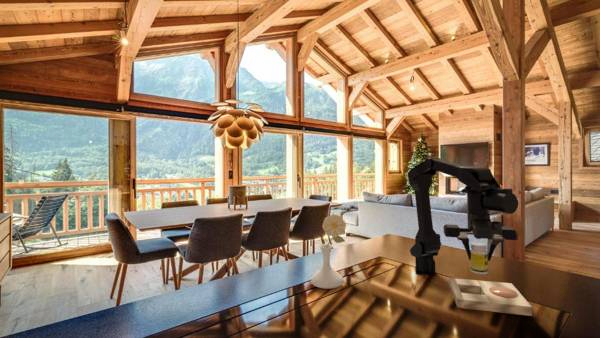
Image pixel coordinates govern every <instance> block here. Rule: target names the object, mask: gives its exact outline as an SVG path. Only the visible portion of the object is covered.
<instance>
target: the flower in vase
mask: <svg viewBox="0 0 600 338" xmlns="http://www.w3.org/2000/svg"><path fill="white" fill-rule="evenodd" d="M346 227H347V222H346V221H345V220H344V218H343V217H342V216H341V215H338V214H335V213H333V214H331V215H330V214H329V215H328V216H327V217H325V218H324V220H323V222H322V229H323V231H324V233H325V234H326V235H327V236H330V237H331V238H330V239H329V241H328V240H327V239H325V238H323V237H320V236H319V239H321V240H323V241H325V242H327V243H322V244H319V245H318V248H319V249H320V250H321V253H322V259H323V261H322V262H323V264H322V267H321V268H320V269H318V270H317V272H314V274H313V275H312V276H311V278H310V282H311V284H312V285H313V286H314V287H317V288H319V289H326V290H329V289H336V288H339V287H340V286H342V285H343V284H344V282H345V281H344V278H343V276H342V275H341V274H340V273H339V272H337V271H336V270H335V269H333V268H332V266H331V262H330V261H331V259H330V258H331V251H332V249H333V248H334V245H333V244H331V242H332V240H333V241H334V242H335V243H336V244H340V243H343V242H345V239H344V238H343V237H342V236H341V235H343V234H344V233H345V230H346Z"/></svg>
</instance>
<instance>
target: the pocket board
mask: <svg viewBox="0 0 600 338" xmlns="http://www.w3.org/2000/svg"><path fill="white" fill-rule="evenodd" d="M448 287H449V288H450V291H451V294H452V296H453V300H454V302H455V304H456V307H457V308H459V309H466V310H476V311H482V312H483V311H484V312H493V313H500V314H501V313H502V314H503V313H504V314H508V315H509V314H512V315H519V316H521V315H522V316H528V317H533V306H532V305H531V304H530V303H529V302H528V301H527V299H526V298H525V297H524V296H523V295H522V294H521V293H520V291H519V290H518V288H516V286H514V284H513V283H511V282H501V281H489V280H487V281H486V280H478V279H477V280H476V279H465V278H457V277H456V278H454V277H453V278H452V277H449V278H448ZM490 287H505V288H509V289H512V290H514V291H515V292H517V294H518V296H517V297H514V298H506V297H501V296H497V295H495V294H493V293H491V292H490V291H489V288H490Z"/></svg>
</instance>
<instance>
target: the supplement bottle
mask: <svg viewBox="0 0 600 338" xmlns="http://www.w3.org/2000/svg"><path fill="white" fill-rule="evenodd" d="M470 243H471V244H470V254H471V260H469V270H470V272H471V273H474V274H476V275H477V274H478V275H486V274H488V273H489V261H488V252H487V244H485V243H484V242H470Z"/></svg>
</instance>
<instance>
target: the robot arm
mask: <svg viewBox="0 0 600 338" xmlns="http://www.w3.org/2000/svg"><path fill="white" fill-rule="evenodd" d="M438 172H439V173H442V174H445V175H447V176H451V177H454V178H456V179H457V180H458V181H459V183H462V184H463V185H465V187H464V188H463V189H461V190H460V193H462V194H466V200H467V201H466V205H467V209H466V213H467V215H466V216H467V217H466V218H467V227H459V225H458V224H447V223H445V224H444V225H443V234H444V236H445V237H446V238H456V239H457V240H458V241H461V243H462V245H463V248H464V250H465V252H466V253H465V254H466V256H467V258H468V260H469V261H470V260H471V254H470V250H471V246H470V239H469V237H468V235H472V236H473V237H474V238H475V239H478V240H480V239H486V240H487V241H486V242H487V244H486V248H487V249H486V251H487V252H488V262H490V261H491V260H492V257H493V254H494V251H495V250H496V248H497V246H498V245H499V244H501V243H504V241H505V240H507V241H519V233H518V231H517V230H516V229H514V228H513V227H511V226H503V225H502V222H501V221H500V220H499V221H497V220H496V221H491V215H490V212H496V213H501V214H509V215H512V214H514V213H515V212H517V210H518V207H519V200H518V198H517V196H516V194H514V193H513V188H508V187H507V188H502V186H501V185H500V184H499V182H498V180H496V178H495V176H494V175H493V173H492V170H491V168H489V167H487V166H486V167H485V166H471V165H470V166H469V165H462V164H460V163H457V162H453V161H449V160H445V159H443V158H440V157H428V158H426V159H425V160H423V161H422V162H420V163H418V164H417V165H414V166H413V167H411V168H410V169H409V171H408V172H407V179H408V184H409V186H410V187H411V188H412V190H413V191H414V197H415V207H416V208H415V209H416V216H417V224H418V225H417V227H418V230H417V232H416V235H415V240H414V241H415V242H414V244H413V246H412V247H410V249H409V252H410V256H412V257H414V259H415V266H414V269H415V274H419V275H427V276H429V275H430V276H435V274H436V273H435V272H436V260H435V258H434V257H437V256H438V255H439V251H440V250H441V246H442V245H443V244H442V242H441V234H440V233H437V232H436V231H435V230H434V225H433V216H432V208H431V199H430V188H431V186H432V184H433V177H435V176H436V175H437V173H438Z"/></svg>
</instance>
